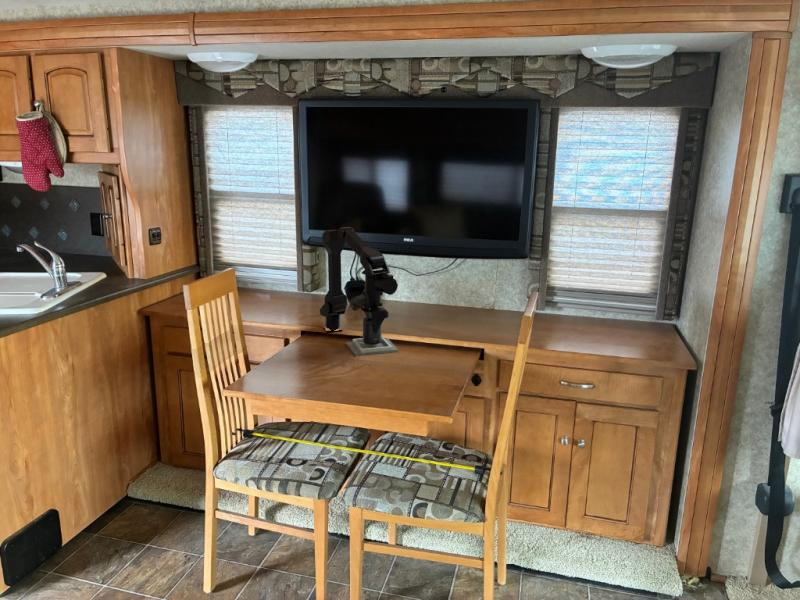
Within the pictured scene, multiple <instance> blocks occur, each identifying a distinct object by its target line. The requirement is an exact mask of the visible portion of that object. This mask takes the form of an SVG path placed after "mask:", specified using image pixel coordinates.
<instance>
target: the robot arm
mask: <svg viewBox="0 0 800 600" xmlns="http://www.w3.org/2000/svg"><path fill="white" fill-rule="evenodd" d="M321 239H322V246H323V248H324V249H325V251H326V254H327V274H328V275H327V278H328V279H327V280H328V291H327V292H326V294H325V296H324V303H323V305H322V306H321V307H320V309H319V313H320V315H321V316H322V317H325V318H324V320H325V321H324V322H325V323H324V326H326V327H327V328H329V329H330V330H331V331H334V330H336V329H338V328H339V327H341V315H345V314H346V310H347V306H348V304H349V306H350V308H351V310H352V311H353V312H357V311H358V310H361V311H363V313H364V318H365V317H366V310H367V309H370V310H369V316H368V317H369V318H370V319H371V320H372V326H373V333H377V332H378V330H379V328H380V326H381V324H382V325H383V323H384V321H385V319H388V318H389V315H390V314H389V311H388V310H387V309H386V308H385V307H383V302H382V301H381V300H382V296H383V294H386V295H389V296H390V295H393V294H394V295H395V293H396V292H397V290H398V289H399V288H398V287H399V286H398V285H399V284H398V282H397V280H396V279H395V278H394V275H393V274H391V271H390V267H389V265H388V264H387V261H386V259H385V256H384V254H383V253H382V252H380V251H379V250H377V249H374V248H372V247H370V246H369V245H368V244H367V243H366V242H365V241H364V240H363V239H362V238H361V237H360V236H359V235H358V234H357V233H356V232H355V230H354V228H353V227H351V226H345V227H343V226H342V227H339V228H338V229H329V230H328V229H327V230H325V231H324V232H323V233H322V236H321ZM346 244H347V245H348V247H350V248H351V250H352V251H353V252H354V253H355V254H356V255H357V256H358V257H359V263H360V264H361V265H362V268H363V270H362V272H361V274H362V275H364V289H363V290H362V294H360V295H357V296H354V297H351V298H350V299H348V295H347V294H345V293H344V292H343V288H342V285H343V284H342V252H343V250H344V248H345V246H346ZM331 331H325V332H326V333H332V332H331Z"/></svg>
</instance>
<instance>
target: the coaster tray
mask: <svg viewBox="0 0 800 600" xmlns="http://www.w3.org/2000/svg"><path fill="white" fill-rule="evenodd" d="M346 346H347V347H348V348H349V350H350V351H351V353H352V354H353V355H354V356H355V357H357V356H367V355H377V354H388V353H398V352H399V348H397V346H396V345H395V344H394V343H393V342H392V341H391V340H390V339H389V338H384V336H382V335H381V342H380V343H379V344H376V345H368V344H365V343H364V342H363V337H362V338H361V337H359V338H352V341H347V342H346Z"/></svg>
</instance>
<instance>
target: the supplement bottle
mask: <svg viewBox="0 0 800 600" xmlns="http://www.w3.org/2000/svg"><path fill="white" fill-rule="evenodd" d="M369 310H370V309H367V310H366V317H365V316H364V317H363V319H362V338H363V342H364V343H365V344H368V345H376V344H379V343H380V342H381V337H382V325H383V323H382V324H381V326H380V328H379V330H378V332H377V333H373V326H372V320H371V319H370V318H369V317H368V316H369Z"/></svg>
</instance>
